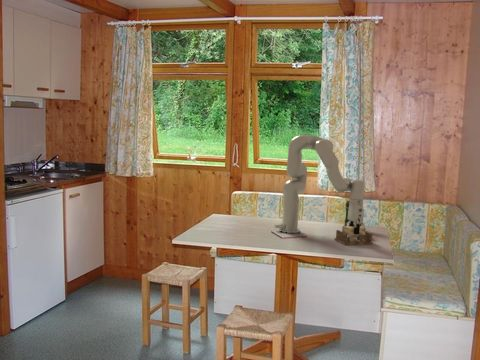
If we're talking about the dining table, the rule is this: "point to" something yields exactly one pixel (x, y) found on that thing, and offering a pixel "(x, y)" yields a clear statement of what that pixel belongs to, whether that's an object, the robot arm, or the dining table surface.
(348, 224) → the lumpy-topped squat cylinder
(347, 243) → the peg cradle
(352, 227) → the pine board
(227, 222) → the dining table surface
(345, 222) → the coffee jar
